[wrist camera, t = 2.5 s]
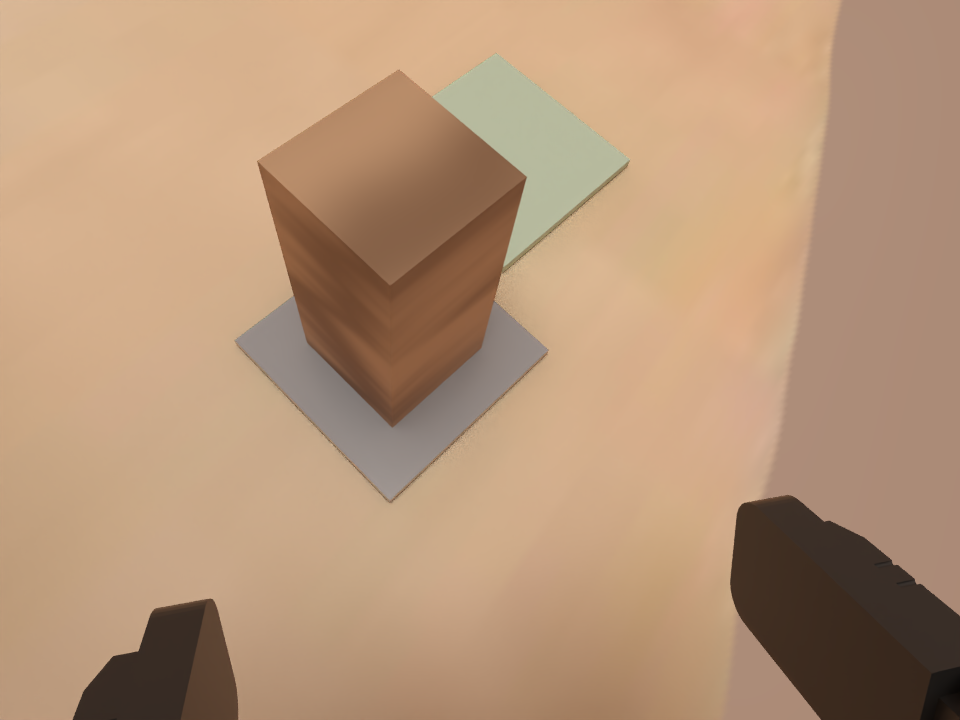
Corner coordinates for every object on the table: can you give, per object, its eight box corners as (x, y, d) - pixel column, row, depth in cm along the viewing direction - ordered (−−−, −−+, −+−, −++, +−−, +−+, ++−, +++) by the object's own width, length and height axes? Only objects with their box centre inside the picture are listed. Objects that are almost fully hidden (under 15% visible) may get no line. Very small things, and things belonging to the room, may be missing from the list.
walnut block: (307, 342, 28) (257, 160, 18) (398, 270, 30) (399, 69, 20) (392, 427, 27) (390, 286, 17) (481, 348, 29) (526, 176, 19)
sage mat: (364, 150, 33) (364, 143, 32) (495, 60, 36) (496, 52, 35) (502, 272, 31) (504, 267, 30) (626, 166, 34) (630, 159, 34)
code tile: (236, 344, 28) (234, 340, 28) (399, 221, 31) (400, 215, 31) (389, 503, 26) (389, 500, 26) (546, 354, 29) (548, 350, 29)
